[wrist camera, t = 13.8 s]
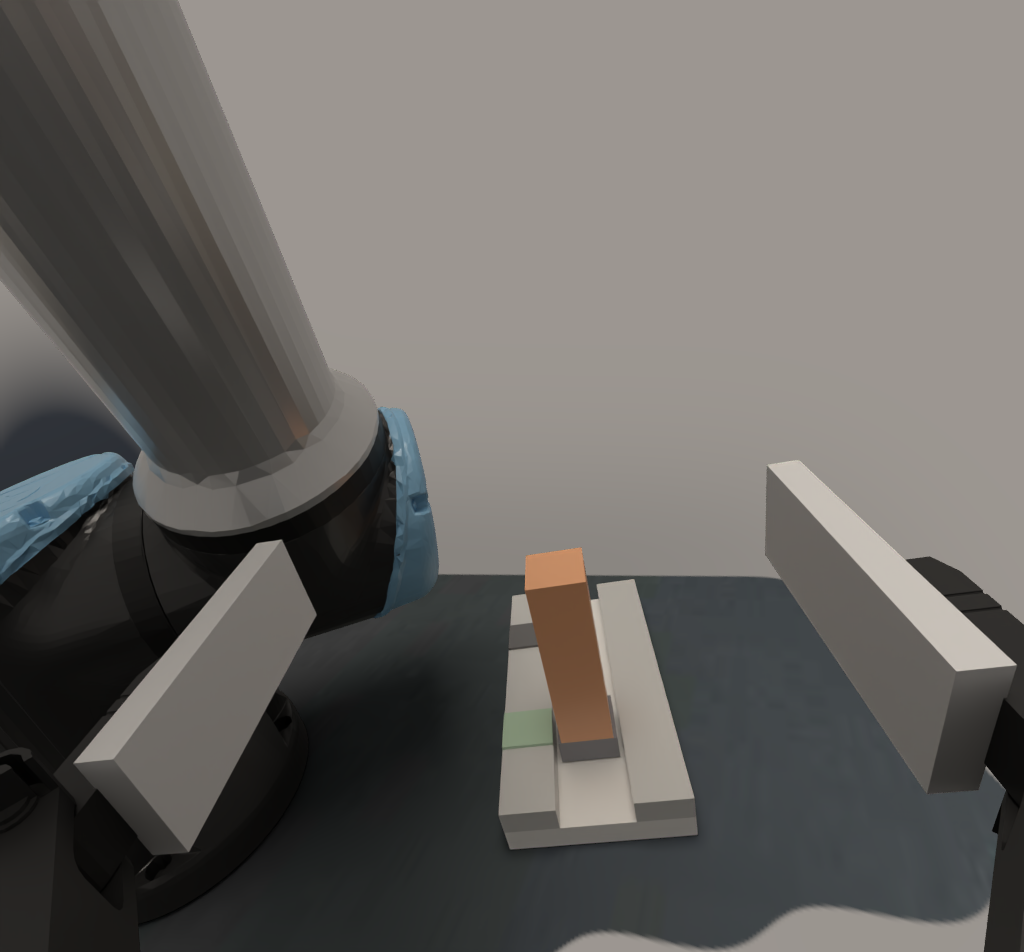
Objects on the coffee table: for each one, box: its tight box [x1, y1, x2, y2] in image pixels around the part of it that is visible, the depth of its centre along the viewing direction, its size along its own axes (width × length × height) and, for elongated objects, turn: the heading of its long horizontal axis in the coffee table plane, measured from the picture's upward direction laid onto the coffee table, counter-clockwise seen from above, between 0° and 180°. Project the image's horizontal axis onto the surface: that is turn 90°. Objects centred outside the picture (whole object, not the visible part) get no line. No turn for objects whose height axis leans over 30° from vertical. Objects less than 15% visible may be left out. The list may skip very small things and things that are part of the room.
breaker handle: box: [525, 548, 621, 762], centre depth 29 cm, size 3×3×13 cm
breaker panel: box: [499, 579, 698, 850], centre depth 35 cm, size 18×10×3 cm, turn 178°
